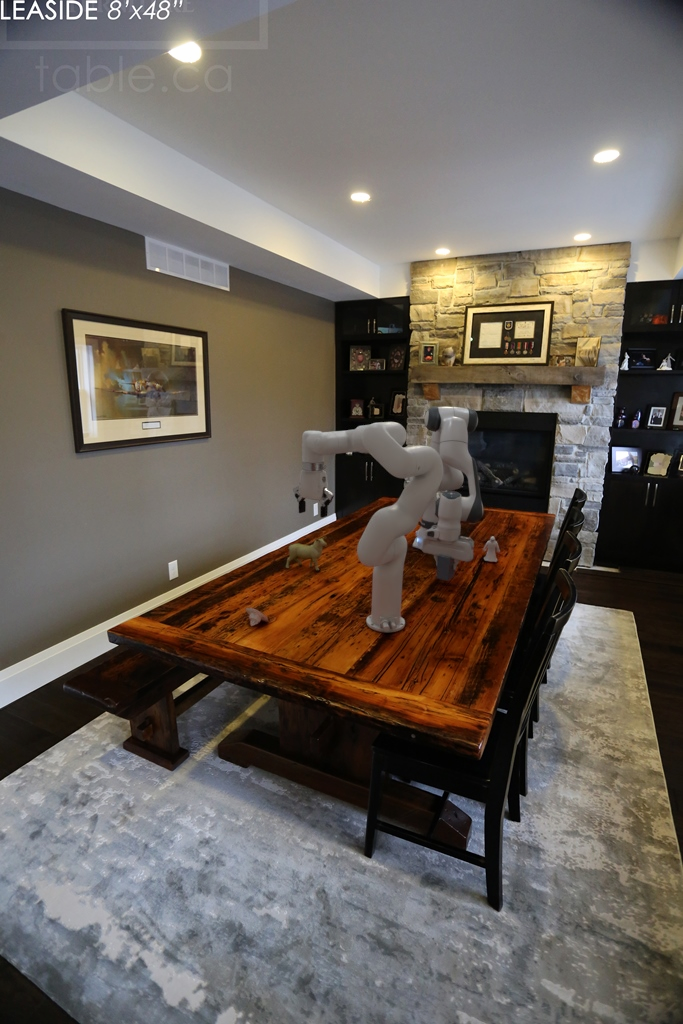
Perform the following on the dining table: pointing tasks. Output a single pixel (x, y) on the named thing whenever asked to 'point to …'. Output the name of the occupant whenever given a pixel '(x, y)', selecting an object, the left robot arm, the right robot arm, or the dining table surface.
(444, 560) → the brick
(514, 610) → the dining table surface
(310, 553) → the toy
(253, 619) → the seashell
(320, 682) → the dining table surface
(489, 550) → the figurine
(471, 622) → the dining table surface
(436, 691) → the dining table surface
